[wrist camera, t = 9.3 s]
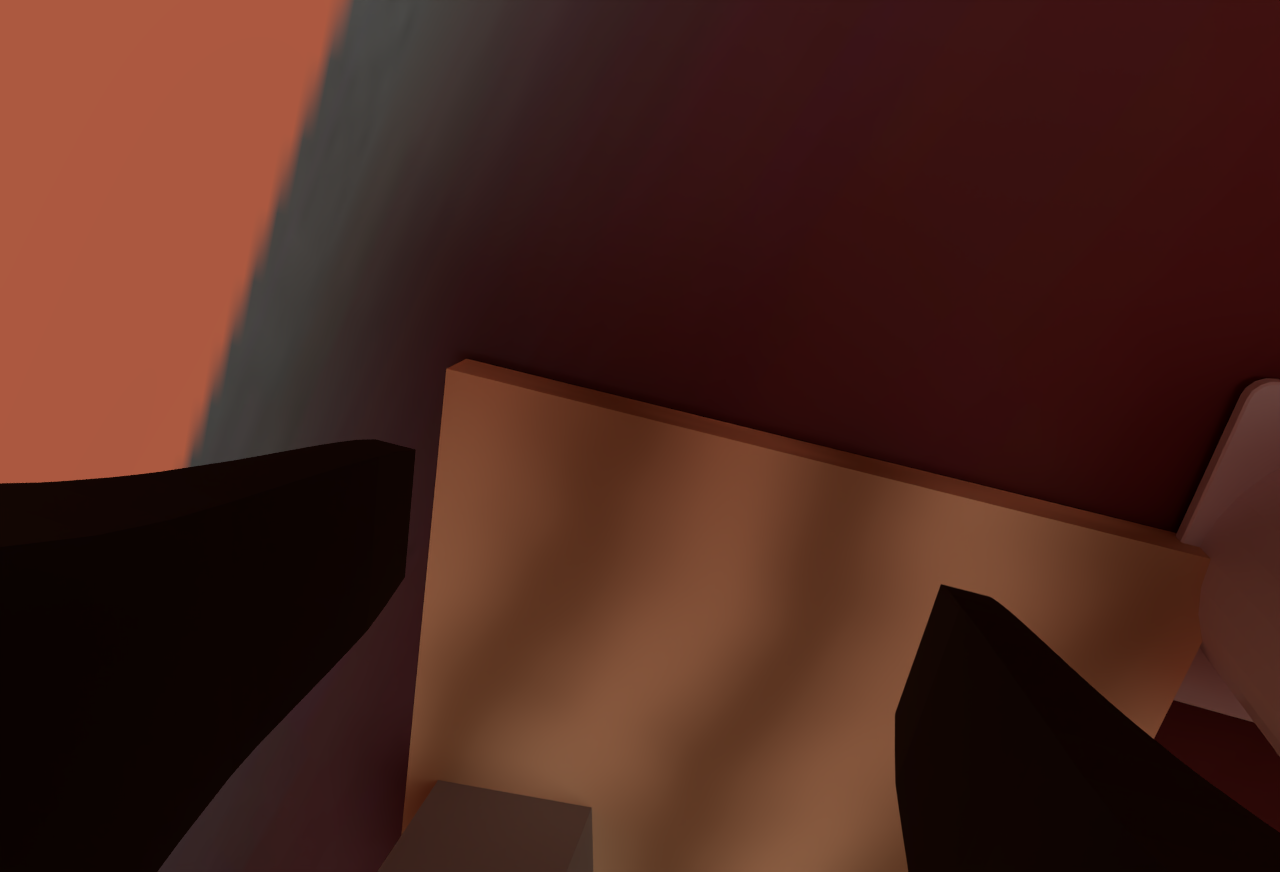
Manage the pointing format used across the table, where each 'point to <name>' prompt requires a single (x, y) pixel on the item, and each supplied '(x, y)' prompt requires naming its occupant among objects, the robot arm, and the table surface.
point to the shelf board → (733, 621)
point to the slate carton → (493, 834)
